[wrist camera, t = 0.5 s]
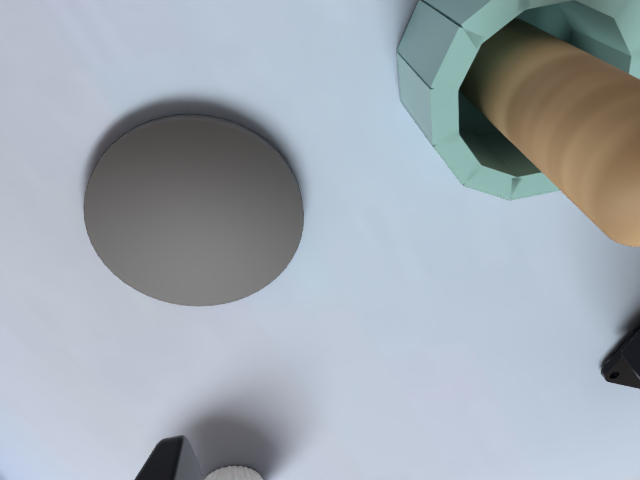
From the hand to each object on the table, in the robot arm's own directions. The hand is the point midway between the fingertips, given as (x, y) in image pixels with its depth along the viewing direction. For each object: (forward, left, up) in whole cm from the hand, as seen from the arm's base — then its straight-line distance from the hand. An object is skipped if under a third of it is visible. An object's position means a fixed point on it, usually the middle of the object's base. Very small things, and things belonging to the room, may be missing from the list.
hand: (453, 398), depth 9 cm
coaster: (+4, +5, -13) cm, 14 cm away
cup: (-4, -4, -13) cm, 14 cm away
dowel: (-4, -4, -12) cm, 13 cm away
